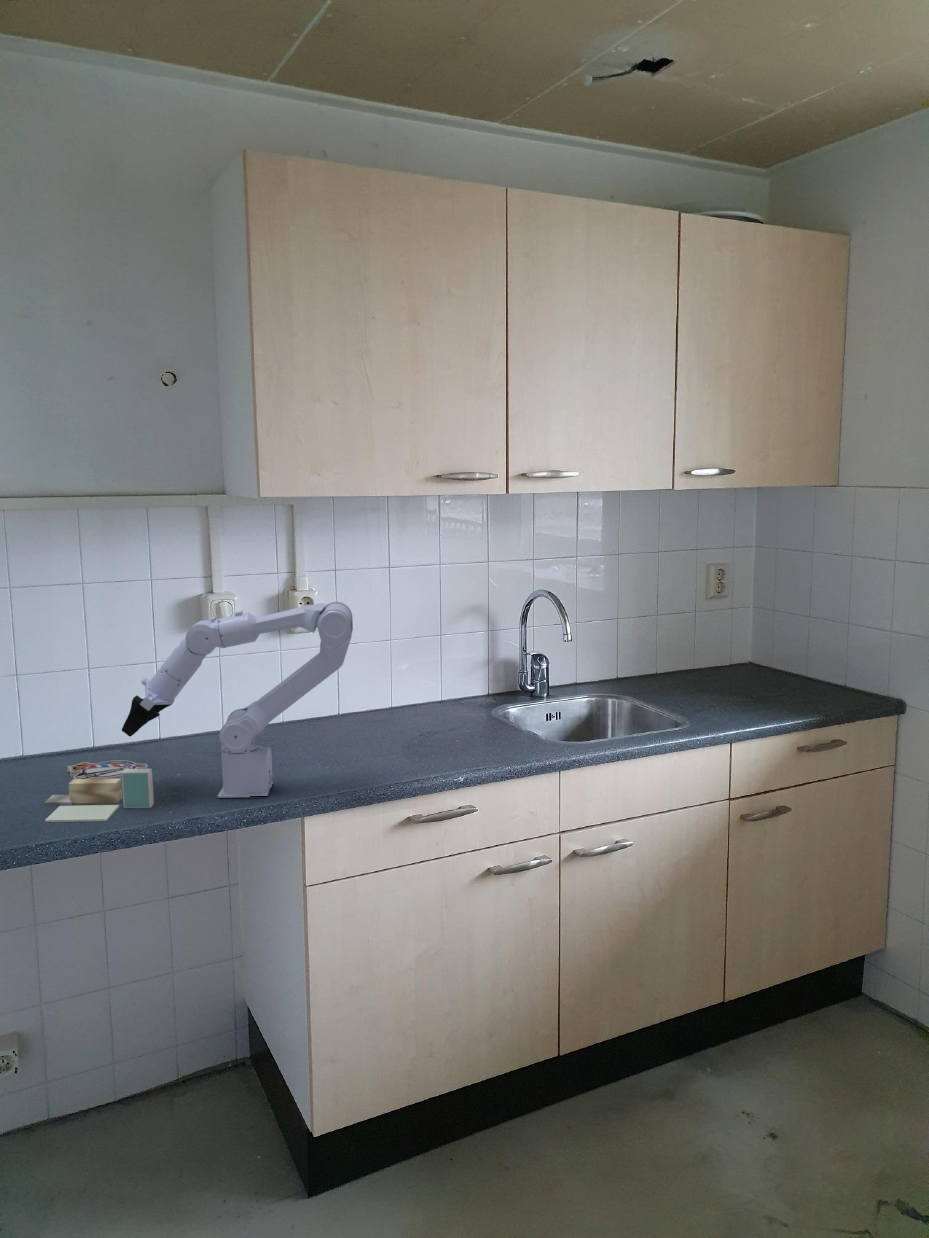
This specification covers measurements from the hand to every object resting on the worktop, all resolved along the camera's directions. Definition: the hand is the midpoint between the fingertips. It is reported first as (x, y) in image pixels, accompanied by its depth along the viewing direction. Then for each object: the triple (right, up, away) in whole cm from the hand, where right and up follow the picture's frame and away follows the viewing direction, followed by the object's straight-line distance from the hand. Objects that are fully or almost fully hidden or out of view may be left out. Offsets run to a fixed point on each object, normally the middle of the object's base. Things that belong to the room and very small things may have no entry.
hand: (132, 728), depth 180 cm
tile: (+3, -14, -4) cm, 15 cm away
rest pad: (-6, -15, -8) cm, 18 cm away
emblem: (-10, -12, +15) cm, 22 cm away
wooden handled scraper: (-9, -14, -1) cm, 16 cm away
